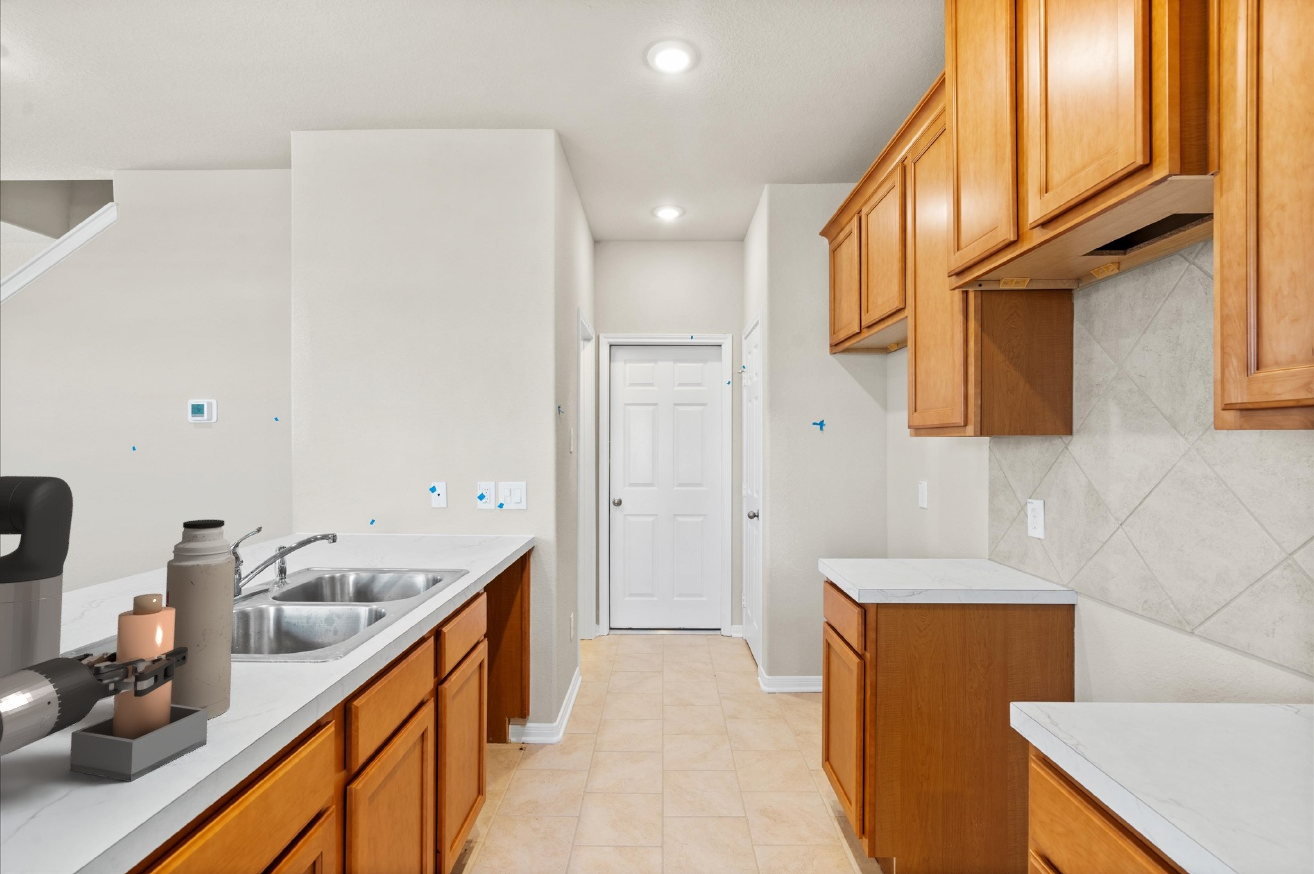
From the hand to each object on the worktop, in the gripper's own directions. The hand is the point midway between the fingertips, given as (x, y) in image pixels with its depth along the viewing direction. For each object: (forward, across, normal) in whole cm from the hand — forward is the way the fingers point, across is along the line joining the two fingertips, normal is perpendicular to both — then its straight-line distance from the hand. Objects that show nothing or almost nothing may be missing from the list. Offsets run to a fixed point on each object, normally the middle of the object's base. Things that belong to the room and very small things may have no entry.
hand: (162, 653), depth 79 cm
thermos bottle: (+10, +3, +12) cm, 16 cm away
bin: (-2, 0, +12) cm, 12 cm away
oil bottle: (-3, 0, +10) cm, 10 cm away
